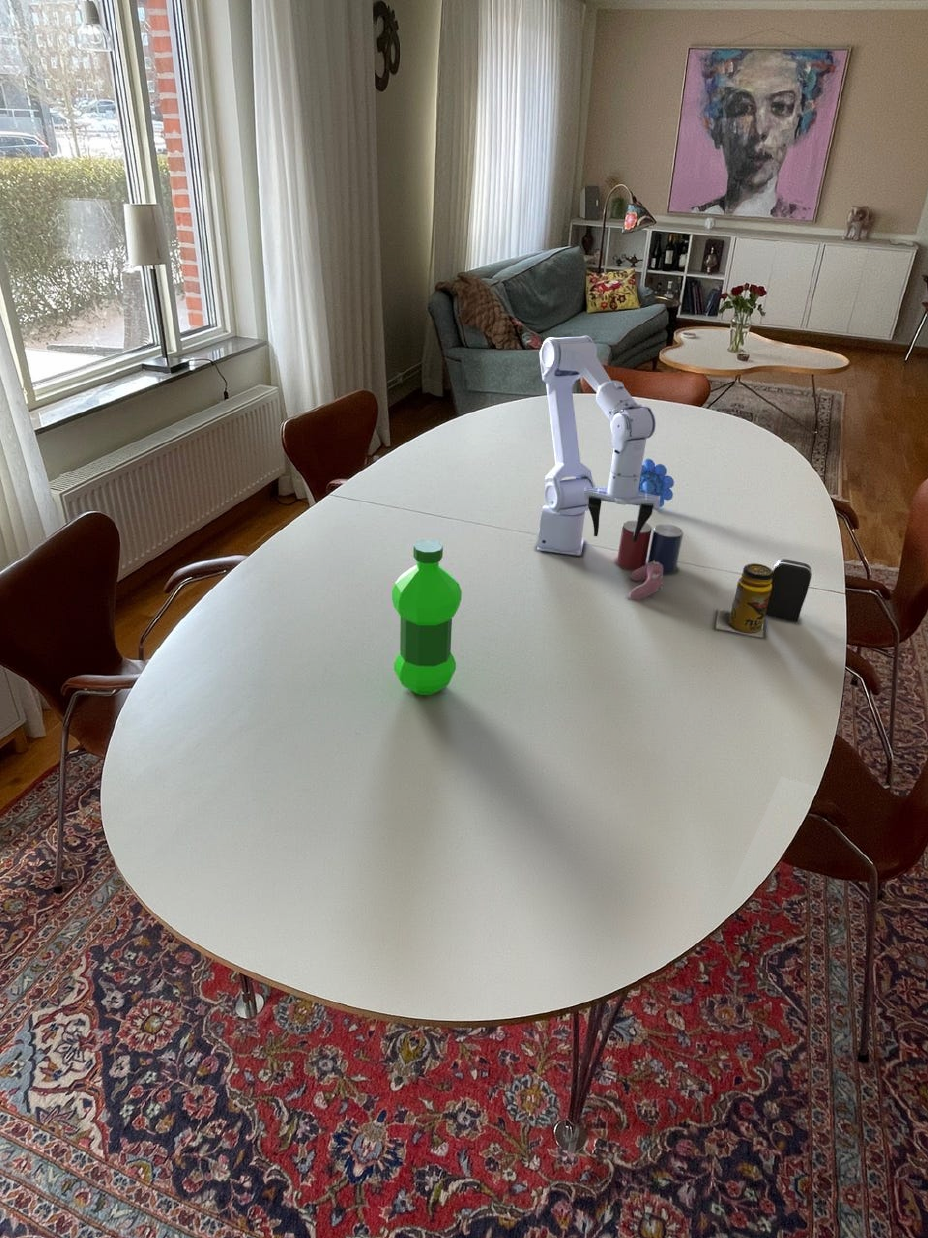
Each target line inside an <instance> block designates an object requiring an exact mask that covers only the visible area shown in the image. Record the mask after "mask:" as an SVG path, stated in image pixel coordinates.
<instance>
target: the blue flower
mask: <svg viewBox="0 0 928 1238" xmlns="http://www.w3.org/2000/svg"><path fill="white" fill-rule="evenodd" d="M667 473H668V469H667V467H666V466H665V465H664V464H662V463H658V464H655V462H654V460H652V459H651V458H645V459H643V463H642V469H641V475H640V481H639V487H638V491H639V492H643V493H647V494H650V495H655V496H660V504H659V508H663V506H665V501H667V502H668V501H670V500H672V499H673V497H674V493H673V491H672V490H671V489H672V488H673V487H674V485H675V481H674V479H673V477H672V476H670V475H669V474H667Z"/></svg>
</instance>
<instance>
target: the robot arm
mask: <svg viewBox="0 0 928 1238" xmlns="http://www.w3.org/2000/svg"><path fill="white" fill-rule="evenodd" d="M539 363H540V371H541V378H542V381H543V383H545V385H546V386H545V388H546V394H547V402H548V412H549V421H550V428H551V437H552V446H553V454H554V463H555V466H554V467H553V468H551V470H550V471H549V472H548V473H547V474H546V475H545V477H544V478H545V487H544V500H545V503H546V505H543V506H542V509H541V515H540V520H539V529H538V533H537V538H538V541H537V547H536V550H538V551H541V552H549V553H555V554H561V555H562V554H563V555H570V556H577V557H578V556H579V557H580V556H582V551H583V547H584V542H585V539H583V533H584V532H583V531H584V526H585V525H584V524H585V515H586V512H587V511H589V513H590V516H591V520H592V524H593V537H598V535H599V530H600V529H599V528H600V516H601V515H600V514H601V508H602V502H607V503H615V504H617V505H633V506H638V513H637V519H636V521H637V523H636V527H635V531H634V536H633V541H637V538H638V536H639V533H640V531H641V529H642V527H643V526H644V524H645V523H647V521H648V520H649V519H650V518H651V516H652V514H653V510H659V504H660V496H655V495H650V494H647V493H643V492H639V491H638V487H639V481H640V475H641V469H642V465H643V461H644V455H645V451H646V444H647V439H651V437H652V436H653V435H654V433H655V430H656V424H657V422H656V416H655V413H654V412H653V411H652V409H651V408H650V407H649V406H643V405H642V404H638V402H637V401H636V400H635V399H634V398H633V397H632V395H631V394H630V393H629V392H628V390H627V388H625V385H624V383H623V382H622V381H619V380H612V379H611V378H610V376H609V374H608V373H607V372H606V370H605V368H604V366H603V364H602V363H601V361H600V360H599V358H598V347H597V344H596V343H595V342H594V340H593V338H591V336H589V335H582V336H569V337H547V338H546V339H545V340H544V341H543V344H542V346H541V348H540V351H539ZM581 378H583V379H584V380H585V381H586V382H587V384H588V385H589V386H590V387H591V388H592V389H593V390H594V392H595V393H596V394H595V402H596V404H597V405H598V407H599V408H600V409H601V411H602V412H603V413H604V415H605V416H606V418H607V419H608V420H609V429H610V433H611V447H612V457H611V464H610V470H609V476H608V485H607V487H596V484H595V482H594V479H593V474H592V470H591V469H590V468H589V467H587V466H586V465H584V463H582V462H581V455H580V448H579V438H578V430H577V420H576V413H575V402H574V395H573V386H574V384H575V382H576V381H577V380H580V379H581ZM570 477H572V478H570ZM573 477H574V478H573ZM564 478H569V479H564Z"/></svg>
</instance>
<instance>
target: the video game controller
mask: <svg viewBox="0 0 928 1238" xmlns="http://www.w3.org/2000/svg"><path fill="white" fill-rule="evenodd" d="M663 575H664V574H663V565H662V564H661V563H659V562H655V561H654V560H653V562H649V563H648V562H647V563H646V564H645V565H644V566H643V567H640V568H638V569H636V570H633V571H632V572H631V579H632V580H633V581H643V580H645V581H644V582H643V583H642V584H640V585H638V586H636V587H634V588H633V589H632V590H631V591H630V593H629V596H630V598H631V599H632V600H643V599H645V598H647V597H649V596H651V595H652V594H655V593H656V592H657V591H660V590H661V589H662V588H663Z"/></svg>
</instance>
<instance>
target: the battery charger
mask: <svg viewBox="0 0 928 1238" xmlns="http://www.w3.org/2000/svg"><path fill="white" fill-rule="evenodd" d="M772 570H773V577H772V582H771V584H772V589H771V593H770V597H769V601H768V605H767V608H766V612H765V616H767V617H771V618H774V619H778V620H783V621H788V622H794V623H798V622H799V620H800V617H801V612H802V609H803V606H804V603H805V601H806V598H807V596H808V592H809V589H810V585H811V581H812V574H813V573H812V567H811V566H810V565H809V563H805V562H801V561H797V560H792V559H786V558H781V559H778V560H777V561H776V562H775V563H774V566H773V568H772Z"/></svg>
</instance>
